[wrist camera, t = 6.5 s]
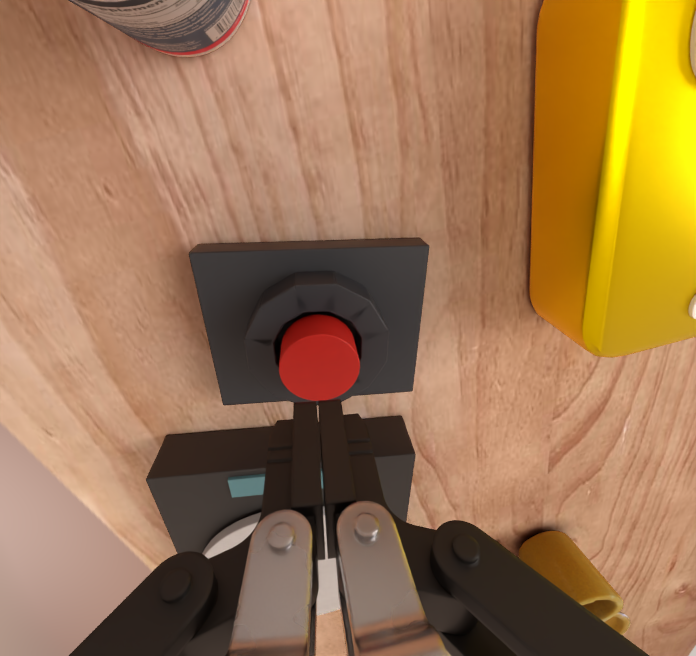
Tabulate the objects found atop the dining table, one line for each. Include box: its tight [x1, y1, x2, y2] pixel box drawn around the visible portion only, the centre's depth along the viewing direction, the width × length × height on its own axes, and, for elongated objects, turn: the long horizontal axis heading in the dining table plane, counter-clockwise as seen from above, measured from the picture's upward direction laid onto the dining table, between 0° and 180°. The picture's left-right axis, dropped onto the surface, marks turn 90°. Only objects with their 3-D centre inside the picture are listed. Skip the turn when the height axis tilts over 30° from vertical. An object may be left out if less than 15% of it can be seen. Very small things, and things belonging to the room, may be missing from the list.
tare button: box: [279, 314, 360, 401], centre depth 14 cm, size 3×3×2 cm
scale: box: [146, 416, 415, 616], centre depth 23 cm, size 14×16×4 cm
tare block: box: [189, 238, 429, 405], centre depth 16 cm, size 10×8×3 cm
